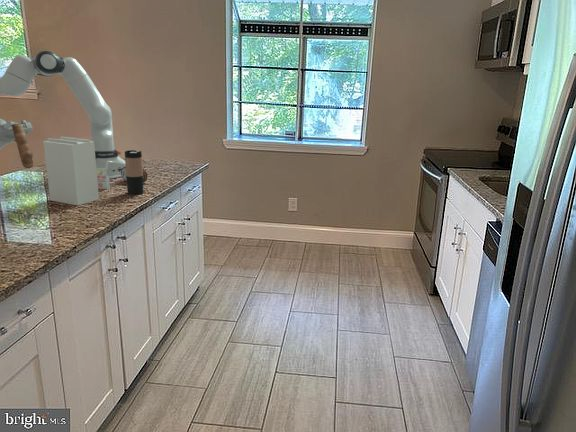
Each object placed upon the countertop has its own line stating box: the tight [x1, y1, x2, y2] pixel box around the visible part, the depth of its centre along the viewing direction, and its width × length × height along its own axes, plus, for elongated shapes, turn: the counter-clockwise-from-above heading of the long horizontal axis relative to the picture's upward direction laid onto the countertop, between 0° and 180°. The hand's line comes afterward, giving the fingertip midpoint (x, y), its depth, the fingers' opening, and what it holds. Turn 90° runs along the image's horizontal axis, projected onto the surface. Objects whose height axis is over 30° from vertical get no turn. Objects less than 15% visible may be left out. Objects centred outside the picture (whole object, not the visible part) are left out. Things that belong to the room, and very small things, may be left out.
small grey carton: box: [96, 168, 111, 190], centre depth 218 cm, size 4×7×10 cm, turn 92°
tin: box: [121, 167, 148, 184], centre depth 232 cm, size 15×3×8 cm, turn 71°
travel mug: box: [124, 149, 144, 196], centre depth 211 cm, size 8×8×20 cm
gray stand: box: [42, 136, 100, 206], centre depth 194 cm, size 16×12×27 cm
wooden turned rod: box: [12, 124, 34, 169], centre depth 201 cm, size 20×5×5 cm
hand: (18, 122), depth 199 cm, fingers closed on wooden turned rod, 4 cm apart
